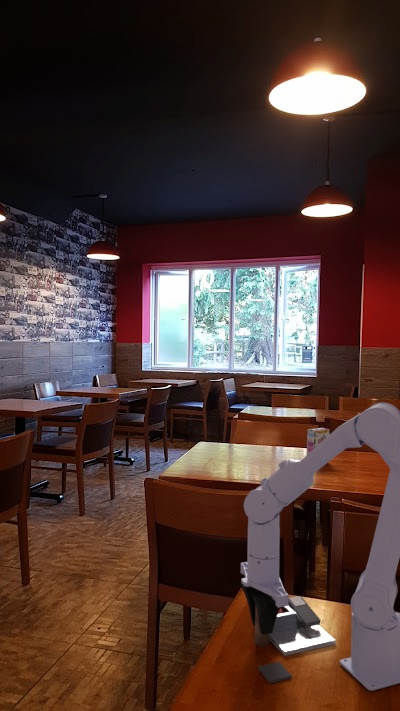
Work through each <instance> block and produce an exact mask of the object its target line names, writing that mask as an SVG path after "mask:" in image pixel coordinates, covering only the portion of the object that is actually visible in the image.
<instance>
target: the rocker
mask: <svg viewBox="0 0 400 711" xmlns="http://www.w3.org/2000/svg"><path fill="white" fill-rule="evenodd" d="M288 606H289V607H290V608H291V609H293V610H294V611H295V612H296V613H297V618H298V619H299V620H300V622H301V623H302V624H303V626H304V627H305V628H307V627H311V626H316V625H319V626H321V619H320V617H319V616H318V615H317V613H316V612H315V611H314V610H313V608H311V606H310V605H309V604H308V603H307V602H306V600H305V599H304V598H303V596H301V595H299V596H294V597H289V598H288Z"/></svg>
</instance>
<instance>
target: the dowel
mask: <svg viewBox="0 0 400 711" xmlns="http://www.w3.org/2000/svg"><path fill="white" fill-rule="evenodd" d="M254 643H255V645H256V646H258V647H261V648H266V647H268V646H269V645H270V640H269V634H264V635H262V634H261V632H260V628H259V617H258V611H257V607H256V604H255V626H254Z"/></svg>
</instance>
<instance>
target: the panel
mask: <svg viewBox="0 0 400 711" xmlns="http://www.w3.org/2000/svg"><path fill="white" fill-rule="evenodd" d="M281 609H282V610H283V613H280V614H278V615H277V617H276V621H275V625H274V628H273V632H272V633H269V642H271V643H272V644H273V646H274V647H276V649H277V650H278V651H279V652H280V653H281V654H282V655H283V656H284V657H287V656H290V655H294V654H295V655H296V654H299V653H300V654H301V653H304V652H309V651H312V650H313V651H314V650H317V649H321V648H327V647H331V646H335V645H336V642H337V641H336V639H335V638H334V637H333V636H331V635H330V634H329V633H328V632H327V631H326V630H325V629H324V628H322V627H321V625H316V626H311V627H307V628H305V627H304V626H303V624H302V623H301V622H300V620H299V619H298V618H297V613H296V612H295V611H294V610H293V609H291V608H290V607H289V606H284V607H281Z"/></svg>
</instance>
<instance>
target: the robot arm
mask: <svg viewBox="0 0 400 711" xmlns="http://www.w3.org/2000/svg"><path fill="white" fill-rule="evenodd" d="M365 444H366V445H367V446H368V447H370V448H371V449H373V450H374V451H375V452H377V453H379V456H380V457H381V458H382V460H383V461H384V462H385V464H386V465H387V466H388V468H389V474H388V477H387V482H386V486H385V490H384V494H383V499H382V503H381V506H380V510H379V513H378V520H377V523H376V527H375V531H374V535H373V538H372V539H373V540H372V543H371V547H370V548H371V549H370V552H369V556H368V559H367V560H368V561H367V563H366V566H365V569H364V571H363V572H362V573H361V574H360V576H359V578H358V584H357V587H356V589H355V592H354V593H353V594H352V597H351V600H350V609H351V636H350V637H351V643H350V644H351V645H350V657H346V658H343V659H342V658H341V659H340V660H339V664H340V665H341V666H342V667H343V668H344V669H345V670H346V671H347V672H349V673H350V674H351V675H352V676H353V678H355V679H356V680H357V681H358V682H359V683H360V684H361V685H363V686H364V687H365V688H366V690H368V691H371V692H372V691H376V690H380V689H384V688H388V687H391V686H394V685H397V684H400V612H397V611H395V610H394V606H395V605H394V604H395V601H396V598H397V595H398V585H397V581H396V573H397V570H398V567H399V566H398V565H399V561H400V410H399V408H397V406H394V405H393V404H392V403H388V402H378V403H374V404H373V405H371V406H369V407H368V408H367V409H364V411H362V412H361V413H358V414H356V415H355V416H354V417H352V418H350V419H348V420H347V421H345V422H344V423H342V424H341V425H339V426H338V427H337V428H335V430H333V431H332V432H331V433H330V435H329V436H328V437H327V438H326V439H324V440H323V441H322V442H321V443H320V444H319V445H318V446H317V447H316V448H314V449H313V450H312V451H311V452H310V453H309V454H308V455H307V454H306V456H304V457H303V458H300V459H299V458H290V459H288V460H286V459H284V460H283V461H281V462H280V463H279V464H278V467H279V468H278V469H277V470H276V471H274V472H273V474H271V475H269V477H264V478H263V479H262V480H260V482H259V483H260V485H259V486H257V487H256V488H255V489H251V490H250V491H249V493H248V494H247V495H246V497H245V498H244V501H243V510H244V513H245V515H246V516H247V517H248V518H247V520H248V521H247V560H246V561H244V562H240V574H241V575H243V576H244V577H243V578H241V581H240V582H241V584H240V586H241V590H242V592H243V594H244V596H245V599H246V602H247V605H248V606H247V607H248V610H249V613H250V615H249V616H250V619H251V624H252V625H253V626H254V627H255V604H256V607H257V611H258V617H259V628H260V632H261V634H262V635H264V634H269V633H272V632H273V628H274V625H275V621H276V617H277V615H278V612H279V610H280V608H281V607H284V606H288V598H290V597H289V594H288V593H287V591H286V590H285V588H284V585H283V582H282V580H281V578H280V542H281V540H280V537H281V536H280V534H281V529H280V516H281V515H280V513H281V512H282V511H283V509H284V507H285V508H286V507H287V506H289V505H290V504H291V503H292V502H294V501H295V500H296V499H297V498H299V497H300V496H301V495H302V494H303V493H305V492H306V491H307V490H308V489H310V488H311V487H312V486H313V485H314V478H315V477H314V475H315V473H316V472H318V471H319V470H320V469H322V468H323V467H324V466H326V464H327V465H328V464H329V463H330V461H332V460H333V459H335V457H337V456H338V455H339V454H340V453H342V452H343V451H345V450H346V449H352V448H353V449H354V448H361V447H362V446H364V445H365ZM328 462H329V463H328Z"/></svg>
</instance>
